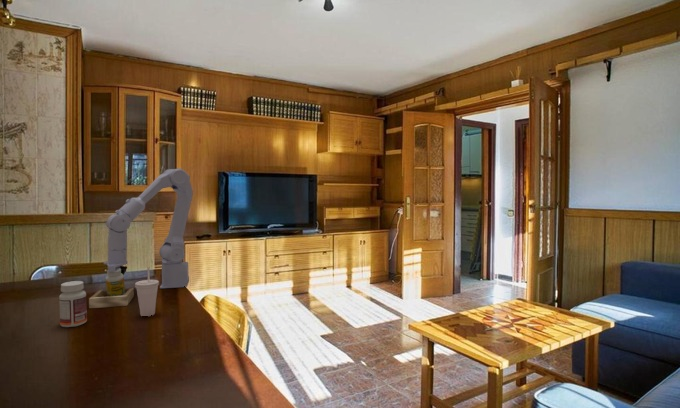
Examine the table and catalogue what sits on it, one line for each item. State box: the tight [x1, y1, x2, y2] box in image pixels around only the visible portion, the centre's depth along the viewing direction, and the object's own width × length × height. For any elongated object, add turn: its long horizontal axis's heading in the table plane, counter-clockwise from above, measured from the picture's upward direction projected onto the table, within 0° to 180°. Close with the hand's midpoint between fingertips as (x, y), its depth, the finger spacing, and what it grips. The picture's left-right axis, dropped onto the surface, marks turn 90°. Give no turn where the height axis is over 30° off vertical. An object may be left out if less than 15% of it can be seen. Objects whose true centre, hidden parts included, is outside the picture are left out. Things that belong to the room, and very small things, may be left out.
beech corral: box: [88, 287, 135, 309], centre depth 127 cm, size 10×10×3 cm
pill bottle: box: [58, 280, 88, 328], centre depth 107 cm, size 6×6×11 cm
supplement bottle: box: [105, 267, 126, 297], centre depth 132 cm, size 5×5×10 cm
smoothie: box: [134, 266, 160, 317], centre depth 115 cm, size 6×6×14 cm
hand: (116, 288), depth 136 cm, fingers closed, pressing on supplement bottle
